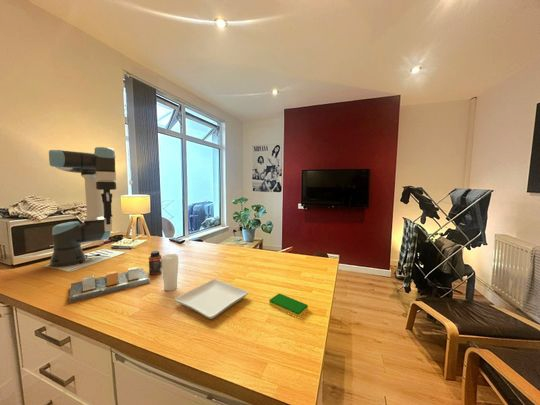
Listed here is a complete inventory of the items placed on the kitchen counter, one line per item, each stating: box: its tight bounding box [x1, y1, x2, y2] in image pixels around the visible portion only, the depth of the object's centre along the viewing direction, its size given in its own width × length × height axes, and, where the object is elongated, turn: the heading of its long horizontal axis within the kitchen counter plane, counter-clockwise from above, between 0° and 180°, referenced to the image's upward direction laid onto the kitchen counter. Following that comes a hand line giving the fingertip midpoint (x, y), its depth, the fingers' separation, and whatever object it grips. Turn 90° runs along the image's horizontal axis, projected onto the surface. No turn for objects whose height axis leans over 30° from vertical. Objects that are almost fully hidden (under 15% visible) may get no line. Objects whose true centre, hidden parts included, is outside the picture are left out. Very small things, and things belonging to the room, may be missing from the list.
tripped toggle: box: [105, 270, 119, 286], centre depth 95 cm, size 2×4×5 cm, turn 131°
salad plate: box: [174, 278, 249, 320], centre depth 87 cm, size 21×21×3 cm
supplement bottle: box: [148, 250, 162, 276], centre depth 113 cm, size 6×6×11 cm
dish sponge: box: [268, 293, 309, 318], centre depth 84 cm, size 7×14×2 cm, turn 51°
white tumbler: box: [161, 253, 179, 292], centre depth 96 cm, size 7×7×15 cm
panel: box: [68, 266, 151, 304], centre depth 99 cm, size 16×28×7 cm, turn 131°
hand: (108, 230), depth 102 cm, fingers closed
